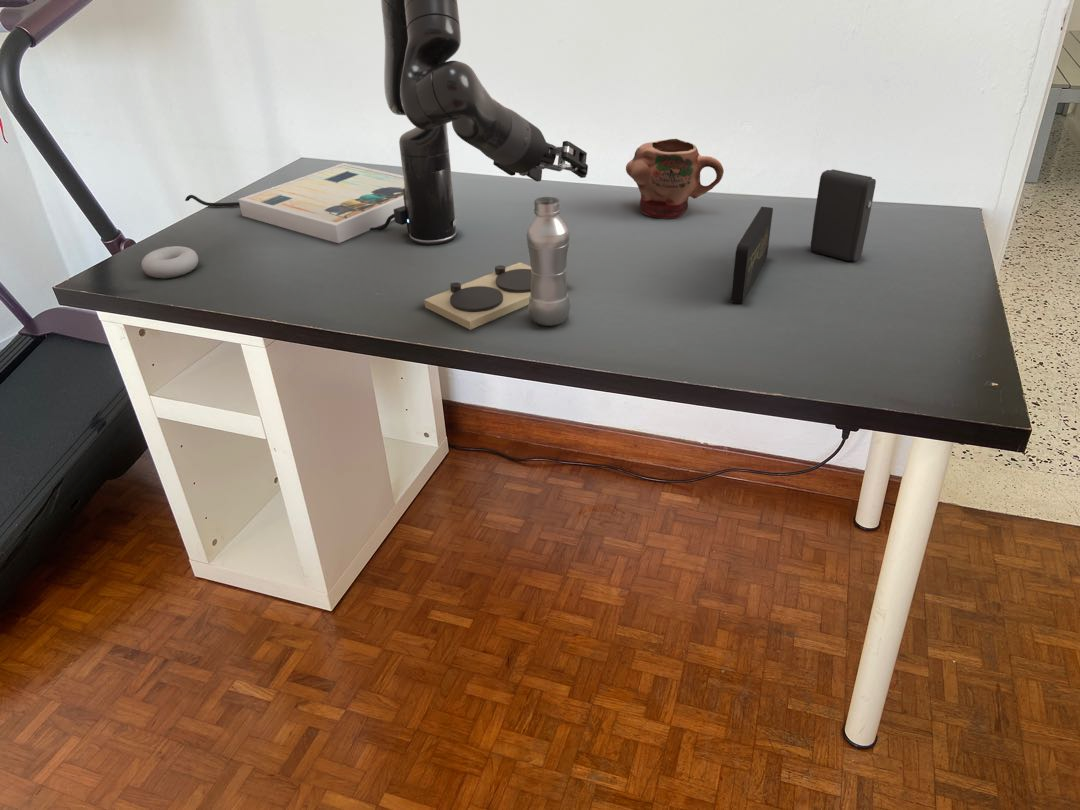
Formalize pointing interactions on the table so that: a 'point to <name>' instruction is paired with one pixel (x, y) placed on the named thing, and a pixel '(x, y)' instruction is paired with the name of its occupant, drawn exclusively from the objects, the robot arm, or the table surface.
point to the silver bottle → (548, 263)
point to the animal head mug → (670, 176)
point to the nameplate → (751, 254)
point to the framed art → (329, 202)
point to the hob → (484, 296)
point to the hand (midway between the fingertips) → (561, 173)
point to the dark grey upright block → (842, 214)
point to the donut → (169, 262)
